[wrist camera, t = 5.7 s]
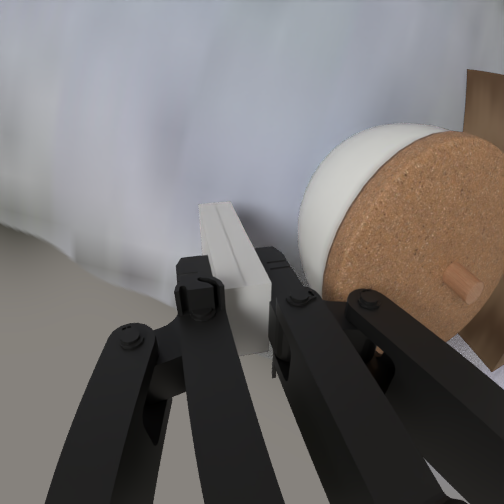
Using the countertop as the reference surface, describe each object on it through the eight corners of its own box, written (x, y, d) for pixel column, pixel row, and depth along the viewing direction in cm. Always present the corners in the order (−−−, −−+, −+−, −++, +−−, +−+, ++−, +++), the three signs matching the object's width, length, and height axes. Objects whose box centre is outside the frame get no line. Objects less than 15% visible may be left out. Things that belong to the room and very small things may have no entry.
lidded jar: (352, 65, 14) (506, 78, 6) (449, 182, 19) (556, 247, 11) (227, 227, 17) (283, 367, 9) (354, 301, 22) (428, 404, 14)
